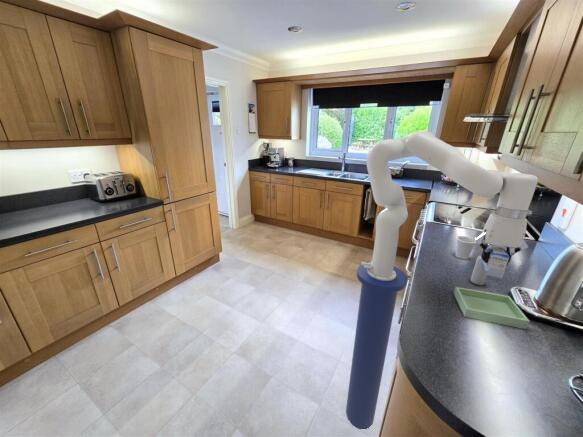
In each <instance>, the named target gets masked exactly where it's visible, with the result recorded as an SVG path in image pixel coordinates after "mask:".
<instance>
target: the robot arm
mask: <svg viewBox="0 0 583 437" xmlns="http://www.w3.org/2000/svg"><path fill="white" fill-rule="evenodd" d="M414 156H415V157H416V158H418V159H420V160H422V161H423V162H425V163H426V164H428V165H430V166H432V167H433V168H435V169H437V170H438V171H439V172H441V173H442V174H443V175H444V176H447V178H449V179H451V181H453V182H455V183H456V184H458V185H459V186H461V187H463V188H464V189H466V191H469V192H470V193H472V194H474V195H476V196H479V197H483V198H490V197H493V196H496V195H497V194H498V193H499V196H498V200H497V203H496V207H495V210H494V213H490V215H489V216H488V218H487V219H486V221H485V224H484V226H483V229H482V231H481V234H480V235H478V236H477V237H475V238H473V239H474V240H475V242H476V244H477V245H479V246H480V247H481V248H482V252H481V258H482V260H483V261H484V262H485V263H488V260H489V257H490V254H491V253H490V252H489V251H490V250H491V248H492V247H493V245H497V246H502V247H505V251H506V252H507V254H508V255H509V260H508V263H507V265H506V267H508V265H509V264H510V262H511V259H512V257H513V256H514V255H516V254H517V253H519V252H521V251H523V250H525V249H528V248H529V245H528V244H527V242H526V240H525V237H526V232H527V226H528V219H527V216H531V215H532V214H533V211H532V210H529V207H530V205H531V203H532V199H533V197H534V193H535V191H536V188H537V186H538V182H539V178H538V177H537V176H536V175H534V174H530V173H522V172H518V173H517V172H511V173H510V172H505V171H500V170H495V169H485V168H484V167H482V166H480V165H478V164H477V163H475V162H473V160H471V159H469V158H468V157H466V156H465V155H464V154H463V152H462V151H461V150H459V149H458V148H457V147H455V146H453V145H451V144H449V143H447V142H445V141H443V140H442V139H439V138H438V137H437V136H435V135H434V133H432V132H431V131H429V130H417V131H415V132H413V133H411V134H410V135H407V136H403V137H399V138H398V137H397V138H388V139H383V140H380V141H378V142H376V143H375V144H374V145H373V146H372V147H370V149H369V150H368V153H367V155H366V161H365V162H366V169H367V173H368V177H369V182H370V188H371V192H372V196H373V200H374V202H375V204H376V205H377V206H379V207H384V209H383V210H382V211H380V212H379V213H378V215H377V216H376V219H375V236H374V245H373V250H372V251H373V252H372V258H371V260H370V261H368V262H369V263H366V262H367V261H361V264H362V265H361V264H360V265H361V266H364V268H365V269H368V270H367V272H368V274H369V275H370V276H371V277H373V278H374V279H377V280H380V281H391V280H394V279H395V278H396V273H395V271H394V270H393V268H394V266H395V261H396V256H397V251H398V246H399V236H400V234H399V233H400V227H401V226H402V225H403V224H404V223H405V222H406V221H407V219H408V217H409V213H408V207H407V202H406V197H405V193H404V189H403V187H402V186H401V184H399V183H398V182H396V181H393V178H392V172H391V170H390V168H389V165H388V164H389V162H390V161H391V162H392V161H396V160H400V159H405V158H409V157H410V158H411V157H414ZM483 241H484V243H483ZM370 262H371V263H370Z"/></svg>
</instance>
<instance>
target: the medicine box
mask: <svg viewBox="0 0 583 437" xmlns="http://www.w3.org/2000/svg"><path fill="white" fill-rule="evenodd" d="M489 252H490V253H491V254H490V257H489V260H488V263H485V262H484V261H483V260H482V263H481V265H482V267H483V269H484V271H485V273H486V275H487V277H494V278H498V279H503V276H504V274H505V271H506V269H507V266H508V265H507V263H508V260H509V255H508V254H507V252H506V249H505V248H504V246H497V245H493V247H492V248H491V250H490V251H489ZM508 264H509V263H508ZM506 265H507V266H506Z"/></svg>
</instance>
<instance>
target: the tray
mask: <svg viewBox="0 0 583 437" xmlns="http://www.w3.org/2000/svg"><path fill="white" fill-rule="evenodd" d="M453 296H454V297H455V299H456V302H457V304H458V307H459V308H460V310H461V312H462V315H463V316H464V317H465V318H469V319H474V320H479V321H483V322H484V321H485V322H490V323H494V324H498V325H503V326H507V327H513V328H514V327H515V328H519V329H523V330H527V329H528V326H529V324H530V320H529V318H528V317H527V316H526V315H525V313H524V312H523V311H522V310H521V309H520V307H519V306H518V304H517V303H516V302H515V301H514V299H512V298H511V296H510V295H505V294H499V293H494V292H487V291H482V290H476V289H471V288H464V287H459V286H455V288H454V291H453Z"/></svg>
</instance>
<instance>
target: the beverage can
mask: <svg viewBox="0 0 583 437" xmlns="http://www.w3.org/2000/svg"><path fill="white" fill-rule="evenodd" d="M481 255H482V254H481ZM481 255H478V256H477V257H476V261H475V263H474V267H473V270H472V274H471V277H470V282H471V283H472V284H474V285H477V286H484V285H485V283H486V280H487V277H488V275H486V273H485V271H484V269H483V267H482V265H481V263H482V258H481Z"/></svg>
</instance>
